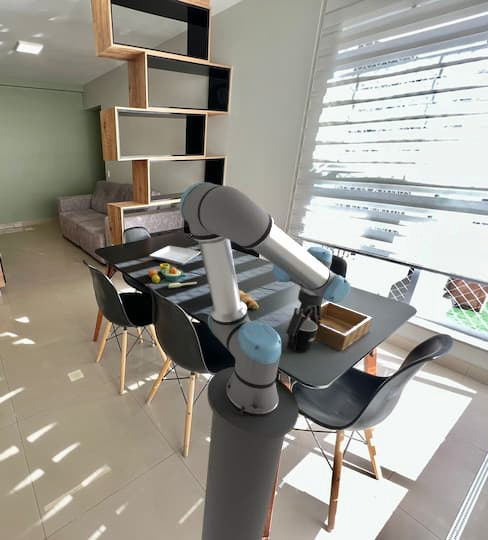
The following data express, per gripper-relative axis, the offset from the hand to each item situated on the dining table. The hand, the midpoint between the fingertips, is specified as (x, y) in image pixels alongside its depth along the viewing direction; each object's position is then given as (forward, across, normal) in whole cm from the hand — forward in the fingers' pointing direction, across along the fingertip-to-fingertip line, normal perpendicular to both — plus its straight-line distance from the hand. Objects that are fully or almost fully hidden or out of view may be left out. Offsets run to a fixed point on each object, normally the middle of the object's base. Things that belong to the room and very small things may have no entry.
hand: (300, 343), depth 108 cm
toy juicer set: (+1, +4, -77) cm, 77 cm away
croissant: (+1, -7, -36) cm, 37 cm away
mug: (+1, 0, 0) cm, 1 cm away
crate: (+1, -20, +2) cm, 20 cm away
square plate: (+1, -24, -106) cm, 109 cm away
